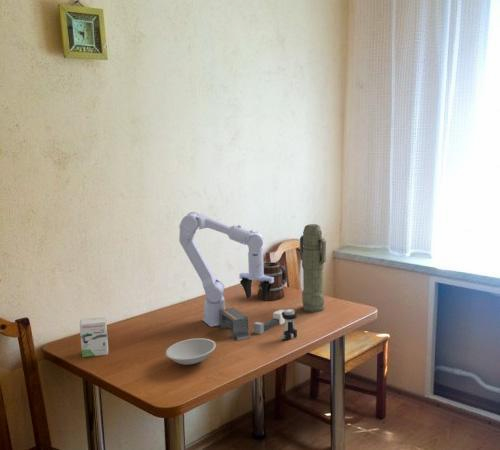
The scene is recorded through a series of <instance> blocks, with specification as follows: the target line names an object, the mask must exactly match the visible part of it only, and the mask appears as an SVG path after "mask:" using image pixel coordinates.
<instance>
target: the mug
mask: <svg viewBox="0 0 500 450" xmlns="http://www.w3.org/2000/svg"><path fill="white" fill-rule="evenodd" d="M263 265H264V275H267V276H270V277H274V282H273V284H272V286H271V289H270V291H269V295H268V300H267V301H278V300H281V299H283V298H285V292H284V288H285V286H284V285H285V284H286V283H287V281H288V277H287V269H286V266H284V265H280V263H279V262H272V261H270V262H269V261H267V262H263ZM262 283H264V282H263V281H259V284H257V287H258V291H257V296H258V299H260V300H263V291H262V287H261V284H262Z"/></svg>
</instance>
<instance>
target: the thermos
mask: <svg viewBox="0 0 500 450" xmlns="http://www.w3.org/2000/svg"><path fill="white" fill-rule="evenodd" d="M326 251H327V241H326V239H325V238H324V237H323V231H322V229H321V225H318V224H315V223H314V224H307V225H305V226H304V228H303V231H302V235H300V238H299V257H300V258H299V259H300V261H301V268H302V273H303V274H302V276H303V280H302V281H303V290H302V292H301V293H302V296H301V298H302V299H301V300H302V310H303V311H305V312H310V313H319V312H322V311H324V310H325V306H324V305H325V292H324V289H323V288H324V285H323V284H324V283H323V282H324V280H323V279H324V278H323V277H324V274H323V273H324V267H325V266H324V265H325V263H326V261H327V257H326V256H327V254H326Z"/></svg>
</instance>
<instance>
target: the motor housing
mask: <svg viewBox="0 0 500 450" xmlns="http://www.w3.org/2000/svg"><path fill="white" fill-rule="evenodd" d="M218 326H219V328H220V330H227V329H230V337H231V338H232V339H235V340H236V341H242V340H246V339H250V338H251V336H252V335H251V334H250V331H249V329H250V328H249V317H248V316H247V315H246V314H244V313H242V312H241V311H239V310H238V309H236V308H235V307H228V308H225V309H220V310H219V325H218Z"/></svg>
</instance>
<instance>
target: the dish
mask: <svg viewBox="0 0 500 450" xmlns="http://www.w3.org/2000/svg"><path fill="white" fill-rule="evenodd" d="M216 347H217V345H216V342H215V341H214V340H212V339H209V338H204V337H201V338H200V337H197V338H188V339H185V340H181V341H177V342H176V343H174V344H172V345H169V347H168V348H167V349H166V350H165V356H166V357H167V358H168V359H170V360H172V361H174V362H175V363H177V364H180V365H187V366H189V365H194V364H198V363H200V362H203V361H204V360H205V359H207V358H208V357H209V356H210V355H211V353H212V352H213V351H214V350H215V349H216Z"/></svg>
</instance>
